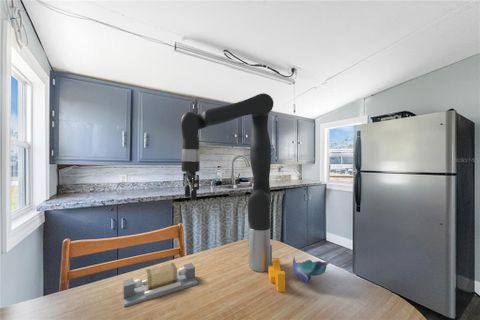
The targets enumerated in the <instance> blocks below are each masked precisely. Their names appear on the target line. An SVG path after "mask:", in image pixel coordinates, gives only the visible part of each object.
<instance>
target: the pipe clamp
mask: <svg viewBox="0 0 480 320" xmlns="http://www.w3.org/2000/svg"><path fill="white" fill-rule="evenodd" d="M267 272H268V278H269V282H270V284H275V288H276V290H277V292H278V293H286V273H285V271H284V270H281V260H280V258H279V257H272V266H268V270H267Z"/></svg>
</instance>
